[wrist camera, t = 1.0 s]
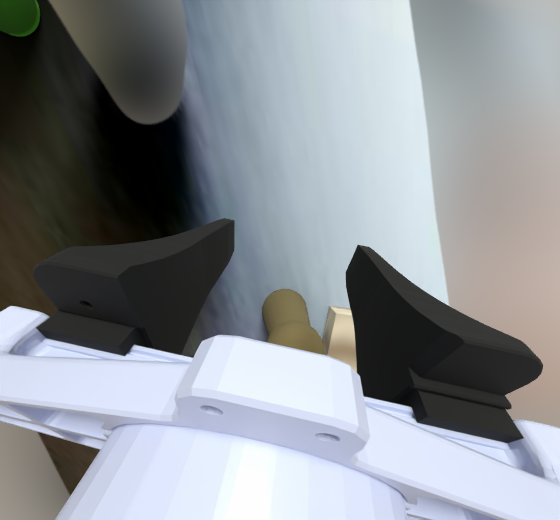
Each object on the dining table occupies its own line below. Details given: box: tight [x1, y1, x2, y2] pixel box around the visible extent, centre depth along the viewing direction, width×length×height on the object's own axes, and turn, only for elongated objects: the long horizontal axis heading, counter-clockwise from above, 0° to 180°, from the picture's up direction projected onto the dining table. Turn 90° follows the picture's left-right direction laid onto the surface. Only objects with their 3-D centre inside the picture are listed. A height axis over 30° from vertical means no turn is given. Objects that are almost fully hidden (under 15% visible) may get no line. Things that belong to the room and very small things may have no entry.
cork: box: [262, 289, 325, 355], centre depth 21 cm, size 6×6×11 cm
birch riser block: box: [323, 306, 357, 373], centre depth 27 cm, size 11×11×2 cm
